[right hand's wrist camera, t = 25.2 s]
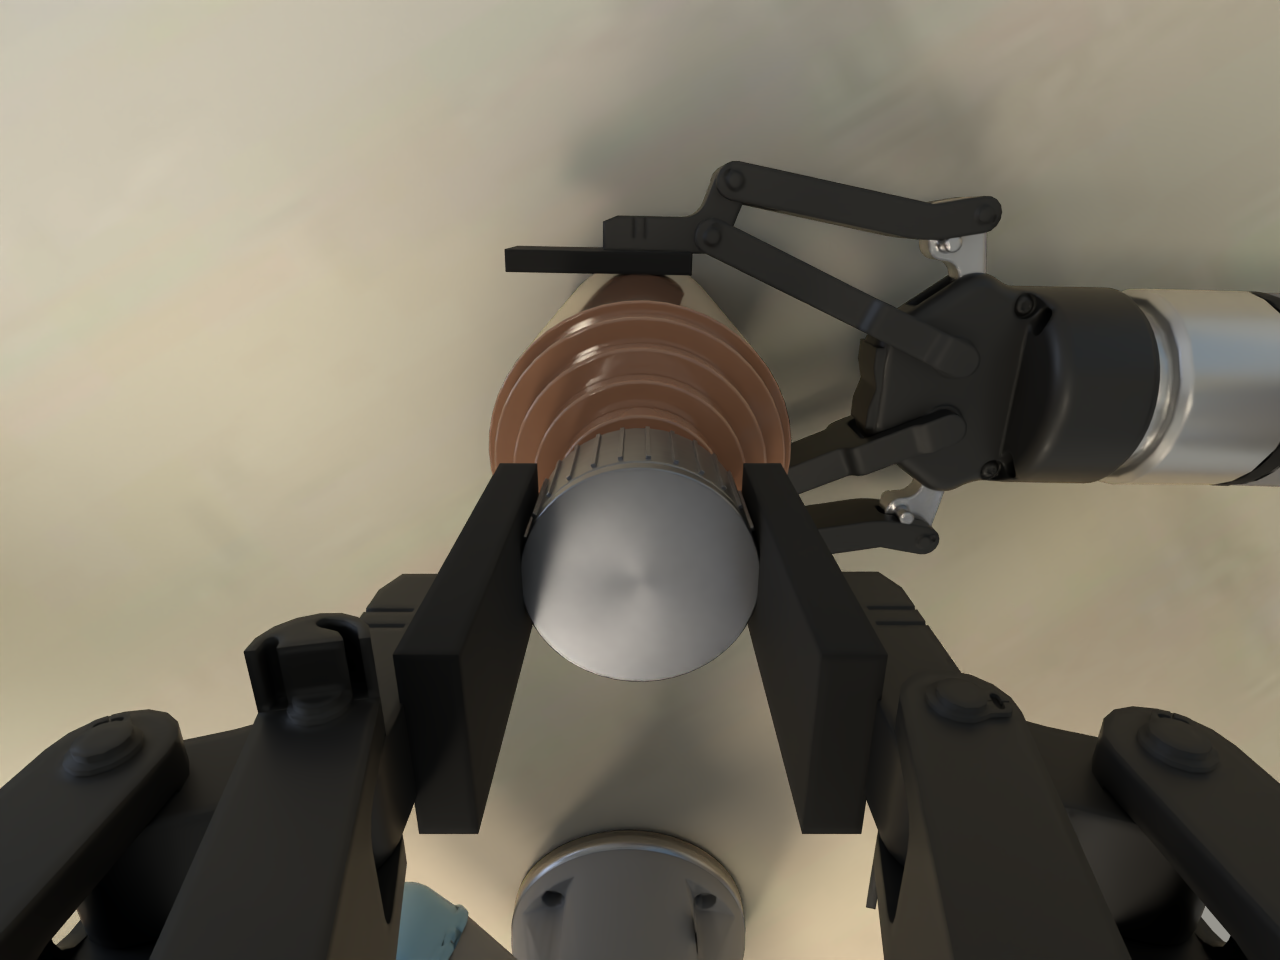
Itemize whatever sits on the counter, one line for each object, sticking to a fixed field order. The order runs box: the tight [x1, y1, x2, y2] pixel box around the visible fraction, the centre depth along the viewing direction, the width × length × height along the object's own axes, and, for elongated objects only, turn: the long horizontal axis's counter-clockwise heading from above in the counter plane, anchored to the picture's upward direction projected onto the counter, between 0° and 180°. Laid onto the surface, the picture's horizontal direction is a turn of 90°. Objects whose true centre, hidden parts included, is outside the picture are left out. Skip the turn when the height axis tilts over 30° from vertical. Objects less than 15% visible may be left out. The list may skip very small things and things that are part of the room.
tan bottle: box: [489, 274, 791, 493], centre depth 23 cm, size 8×8×22 cm
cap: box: [521, 426, 760, 682], centre depth 13 cm, size 4×4×2 cm
